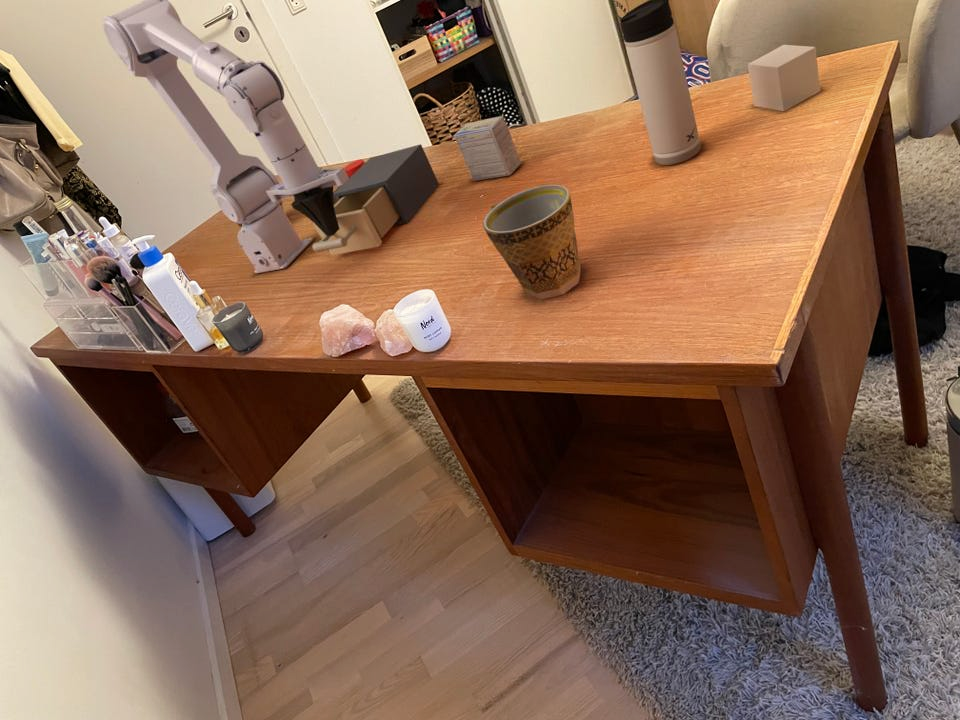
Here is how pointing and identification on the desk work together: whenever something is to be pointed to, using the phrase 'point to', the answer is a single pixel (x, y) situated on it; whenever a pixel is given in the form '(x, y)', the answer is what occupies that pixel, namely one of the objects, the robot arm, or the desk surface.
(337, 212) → the drawer
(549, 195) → the ceramic cup
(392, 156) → the cabinet
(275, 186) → the robot arm
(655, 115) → the travel mug
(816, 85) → the pinkish grey cube
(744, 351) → the desk surface
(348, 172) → the button
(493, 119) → the paper stack
